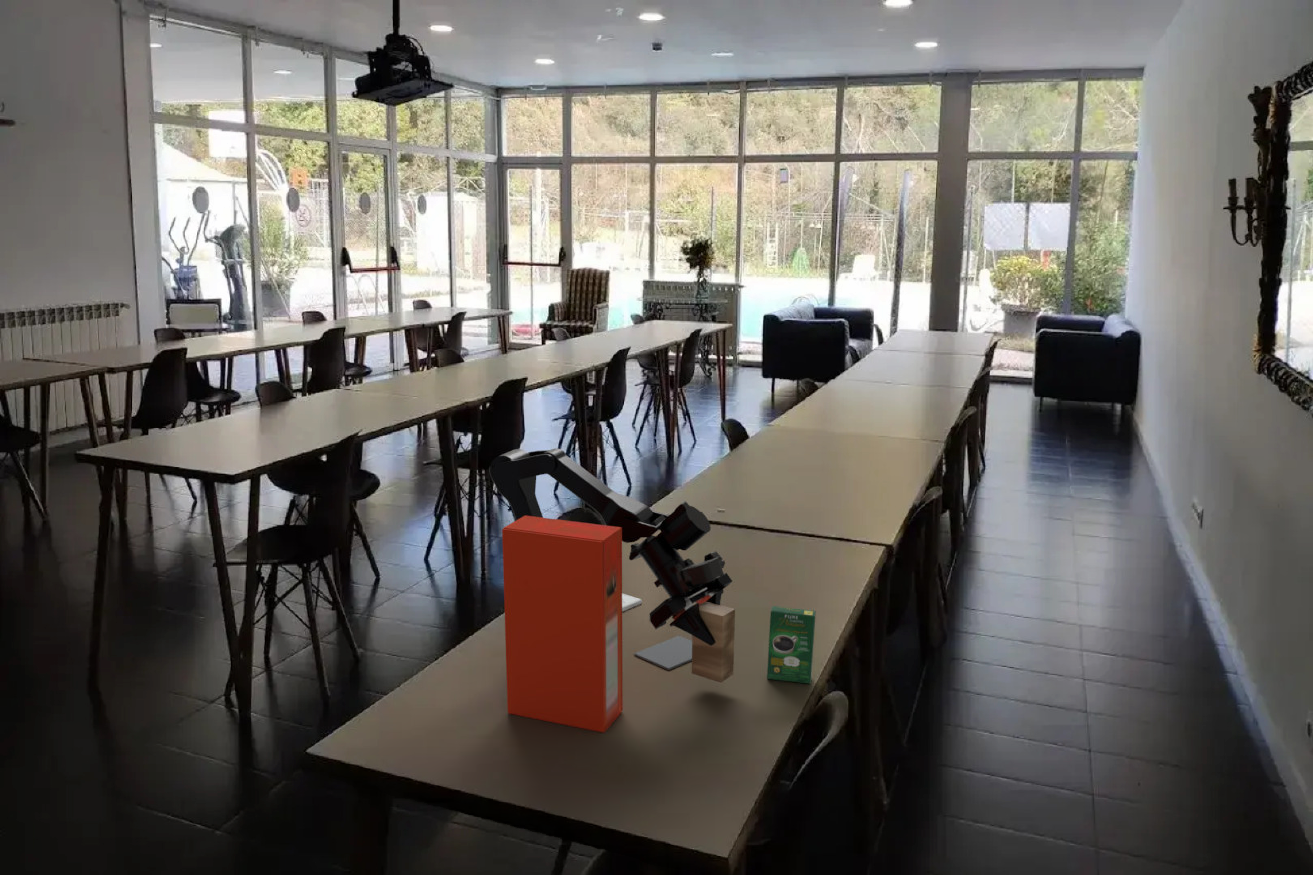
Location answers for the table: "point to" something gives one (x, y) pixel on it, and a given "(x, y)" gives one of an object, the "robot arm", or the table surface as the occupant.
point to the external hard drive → (629, 602)
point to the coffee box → (791, 644)
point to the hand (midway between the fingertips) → (720, 640)
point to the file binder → (563, 621)
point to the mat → (668, 653)
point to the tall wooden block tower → (720, 655)
